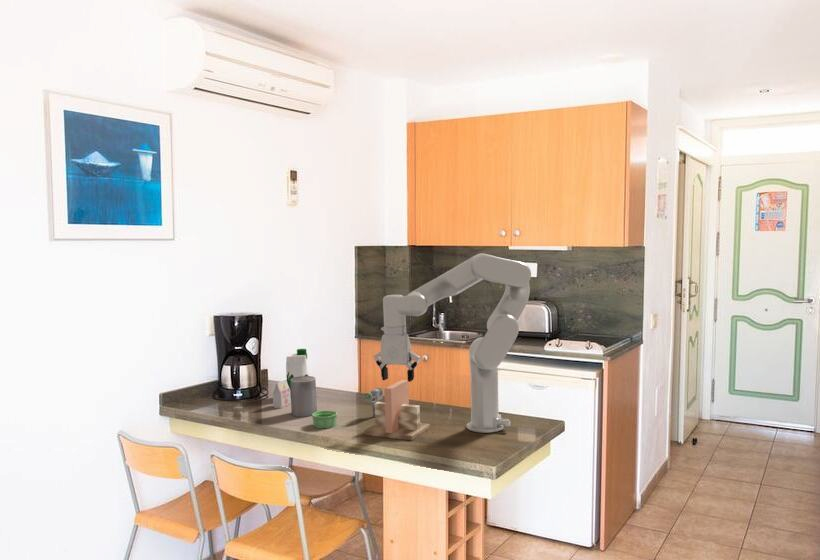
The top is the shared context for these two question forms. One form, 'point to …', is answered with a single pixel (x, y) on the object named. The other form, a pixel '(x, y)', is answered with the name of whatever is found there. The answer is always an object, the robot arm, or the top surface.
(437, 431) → the top surface
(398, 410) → the salmon pink flat slab
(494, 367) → the robot arm
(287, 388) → the white cardboard box
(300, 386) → the pillar candle
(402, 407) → the slotted stand
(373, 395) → the mechanical component
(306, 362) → the milk carton
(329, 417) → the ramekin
